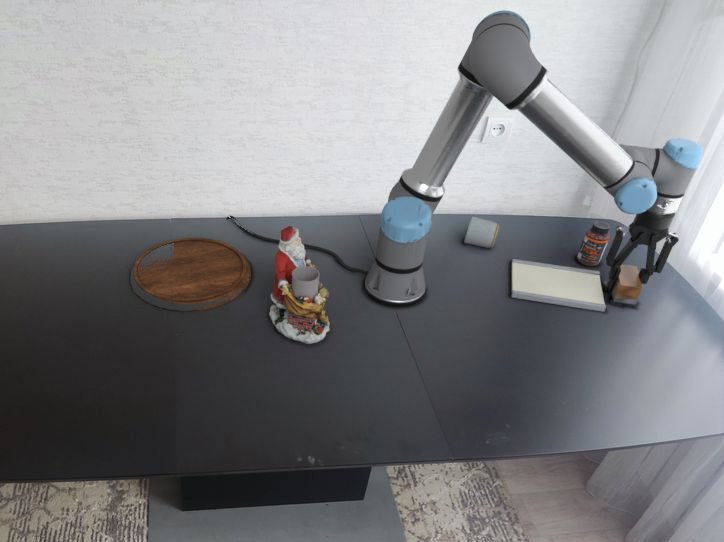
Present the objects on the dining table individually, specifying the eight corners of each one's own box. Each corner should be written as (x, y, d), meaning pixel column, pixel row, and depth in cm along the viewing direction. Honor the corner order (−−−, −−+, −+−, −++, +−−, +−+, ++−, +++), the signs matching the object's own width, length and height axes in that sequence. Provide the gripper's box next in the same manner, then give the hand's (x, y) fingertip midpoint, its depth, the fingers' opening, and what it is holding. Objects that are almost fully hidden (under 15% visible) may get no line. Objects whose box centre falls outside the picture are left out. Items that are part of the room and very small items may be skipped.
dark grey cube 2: (605, 291, 169) (606, 287, 168) (600, 284, 171) (602, 281, 170) (615, 291, 169) (617, 287, 168) (611, 284, 171) (613, 281, 170)
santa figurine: (336, 344, 153) (344, 252, 137) (276, 349, 152) (278, 257, 135) (321, 301, 166) (327, 213, 149) (266, 306, 164) (266, 217, 148)
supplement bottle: (575, 264, 178) (589, 227, 171) (576, 253, 183) (589, 217, 175) (599, 269, 177) (613, 232, 169) (599, 257, 181) (613, 221, 173)
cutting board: (121, 254, 183) (119, 246, 181) (231, 235, 190) (231, 227, 188) (142, 322, 160) (140, 313, 158) (267, 297, 167) (267, 289, 165)
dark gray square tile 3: (622, 304, 164) (624, 301, 164) (624, 299, 166) (626, 295, 166) (634, 308, 163) (636, 304, 163) (636, 302, 165) (638, 298, 164)
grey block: (609, 303, 165) (611, 299, 164) (611, 297, 167) (613, 293, 166) (621, 306, 164) (623, 302, 163) (623, 301, 166) (625, 297, 165)
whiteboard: (511, 297, 167) (512, 292, 166) (511, 263, 179) (512, 258, 178) (604, 311, 162) (606, 307, 161) (597, 275, 174) (599, 271, 173)
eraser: (613, 301, 163) (620, 284, 160) (608, 279, 171) (615, 263, 167) (635, 304, 162) (642, 288, 159) (629, 282, 169) (636, 266, 166)
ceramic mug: (492, 253, 182) (498, 229, 177) (462, 247, 185) (467, 223, 180) (496, 236, 190) (503, 211, 185) (467, 230, 192) (473, 206, 187)
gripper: (617, 210, 150) (585, 293, 165) (705, 221, 146) (663, 305, 162) (614, 195, 156) (582, 277, 171) (698, 205, 152) (658, 288, 167)
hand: (622, 290), depth 166 cm, fingers closed on eraser, 5 cm apart
